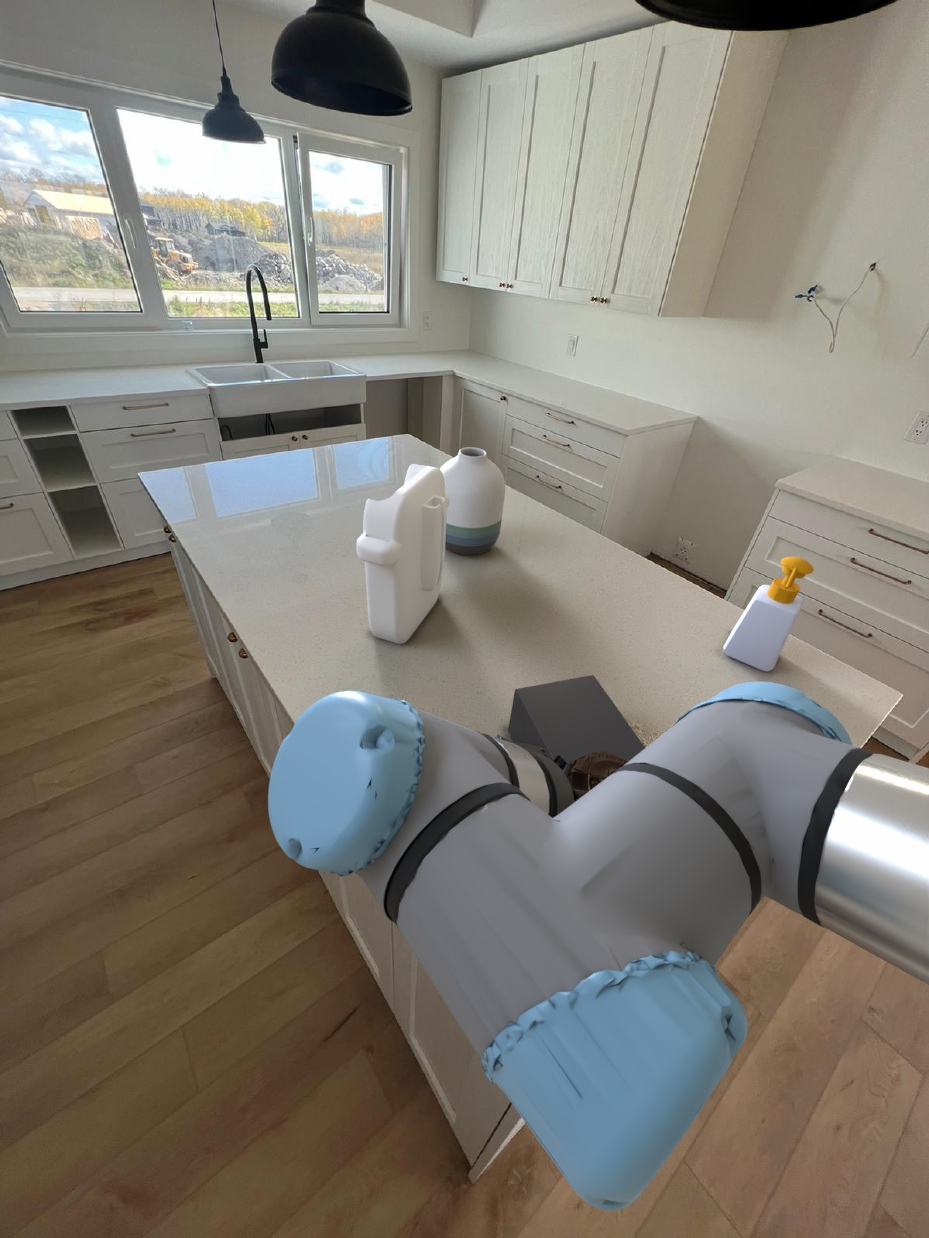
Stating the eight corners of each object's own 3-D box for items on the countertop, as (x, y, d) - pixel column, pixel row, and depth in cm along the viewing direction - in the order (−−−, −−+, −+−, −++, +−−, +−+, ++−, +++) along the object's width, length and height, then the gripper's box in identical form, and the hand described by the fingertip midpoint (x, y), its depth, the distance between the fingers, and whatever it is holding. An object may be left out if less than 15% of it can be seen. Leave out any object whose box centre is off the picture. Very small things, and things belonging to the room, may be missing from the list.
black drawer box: (637, 803, 75) (656, 762, 70) (553, 826, 72) (566, 785, 66) (581, 714, 88) (593, 674, 83) (507, 730, 85) (515, 688, 79)
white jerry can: (409, 665, 95) (410, 518, 77) (356, 648, 98) (344, 502, 80) (461, 589, 116) (471, 459, 98) (416, 577, 119) (417, 448, 100)
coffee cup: (520, 859, 51) (539, 777, 43) (571, 810, 56) (596, 728, 48) (593, 929, 46) (628, 850, 39) (642, 869, 51) (681, 788, 43)
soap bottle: (713, 665, 101) (760, 569, 87) (731, 632, 110) (776, 540, 97) (764, 688, 97) (822, 591, 83) (779, 652, 106) (833, 559, 92)
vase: (505, 559, 128) (518, 465, 113) (437, 562, 125) (441, 466, 110) (490, 527, 141) (499, 439, 126) (428, 529, 138) (431, 439, 123)
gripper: (389, 735, 40) (524, 773, 57) (569, 1009, 27) (674, 950, 44) (451, 662, 39) (569, 723, 56) (667, 906, 26) (735, 888, 43)
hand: (615, 822), depth 50 cm, fingers closed on coffee cup, 8 cm apart
